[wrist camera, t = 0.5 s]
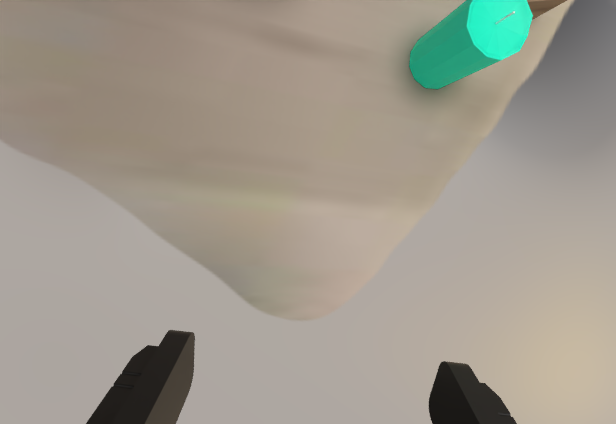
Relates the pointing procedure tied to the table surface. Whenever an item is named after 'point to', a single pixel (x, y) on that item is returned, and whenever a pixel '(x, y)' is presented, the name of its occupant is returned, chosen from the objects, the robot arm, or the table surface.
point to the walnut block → (542, 6)
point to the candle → (470, 40)
